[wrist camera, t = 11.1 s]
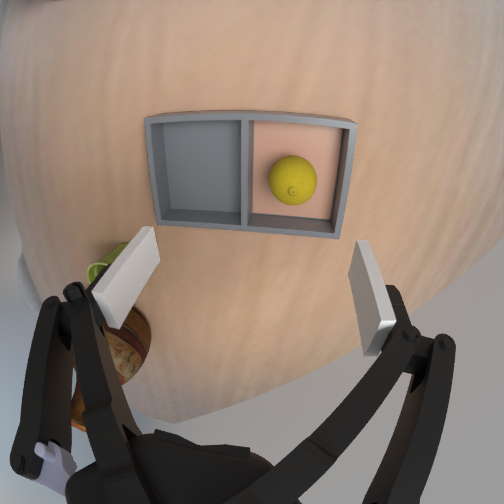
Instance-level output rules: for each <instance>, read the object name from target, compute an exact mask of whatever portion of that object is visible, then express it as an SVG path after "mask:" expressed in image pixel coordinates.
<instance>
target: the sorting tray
mask: <svg viewBox="0 0 504 504" xmlns="http://www.w3.org/2000/svg"><path fill="white" fill-rule="evenodd" d="M144 121H145V134H146V145H147V155H148V164H149V172H150V180H151V188H152V195H153V202H154V209H155V215H156V221H157V225H167V226H182V227H197V228H211V229H225V230H238V231H251V232H263V233H275V234H286V235H298V236H309V237H320V238H330V239H339V238H340V233H341V228H342V223H343V218H344V212H345V207H346V201H347V195H348V189H349V183H350V177H351V170H352V163H353V156H354V148H355V140H356V132H357V123H355V122H354V121H352V120H350V119H345V118H338V117H331V116H323V115H314V114H304V113H293V112H278V111H256V110H211V111H189V112H174V113H163V114H157V115H154V116H150V117H147V118H144ZM291 155H294V156H299V157H302V158H304V159H306V160H307V161H309V163H310V164H311V165H312V166H313V168H314V170H315V172H316V175H317V187H316V190H315V192H314V194H313V195H312V197H311V198H310V199H309V200H308V201H307V202H305V203H303V204H300V205H297V206H291V205H286V204H284V203H282V202H280V201H279V200H278V199H276V197H275V196H274V195H273V193H272V191H271V189H270V186H269V173H270V171H271V168H272V167H273V165H274V164H275V163H276V162H277V161H278V160H279V159H281V158H283V157H285V156H291Z"/></svg>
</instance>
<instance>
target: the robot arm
mask: <svg viewBox="0 0 504 504" xmlns="http://www.w3.org/2000/svg"><path fill="white" fill-rule="evenodd" d="M159 262H160V256H159V251H158V247H157V242H156V238H155V233H154V228H153V227H150V226H143V227H142V228H141V230H140V231H139V232H138V233H137V234H136V235H135V237H134V238H133V239H132V240H131V241H130V243H129V244H128V245H127V246H126V247H125V249H124V250H123V251H122V252H121V254H120V255H119V256H118V257H117V259H116V260H115V261H114V262H113V264H111V263H109V264H108V265H107V266H105V267H104V268H103V269H102V270H101V271H100V273H99V275H97V276H96V278H95V279H94V280H93V282H92V283H91V284H90V285H89V287H88V288H87V289H86V291H85V289H84V287H83V284H82V283H81V282H73V283H71V284H69V285H67V286H66V287H65V289H64V290H63V295H64V297H65V299H66V300H67V302H60V300H59V298H58V297H57V296H51V297H49V298H47V299H46V300H45V301H44V302H43V304H42V307H41V310H40V313H39V317H38V320H37V324H36V328H35V332H34V336H33V340H32V344H31V349H30V354H29V358H28V363H27V369H26V375H25V381H24V389H23V397H22V405H21V418H20V424H19V427H18V430H17V434H16V436H15V440H14V443H13V446H12V450H11V453H10V465H11V467H12V469H13V470H14V471H15V472H16V473H17V474H19V475H21V476H23V477H25V478H28V479H30V480H32V481H35V482H37V483H40V484H42V485H45V486H47V487H49V488H50V489H52V490H54V491H56V492H58V493H59V494H61V495H63V496H65V497H66V501H67V504H302V503H301V502H300V501H299V499H298V498H299V497H300V496H301V495H302V494H303V493H304V492H305V491H307V490H308V489H309V488H310V487H311V486H312V485H313V484H314V483H315V482H316V481H317V480H318V479H319V478H320V477H321V476H322V475H323V474H324V473H325V472H326V471H327V470H328V469H329V468H330V467H331V466H332V465H333V464H334V463H335V461H336V460H337V458H338V457H339V456H340V455H341V454H342V453H343V452H344V450H345V449H346V448H347V447H348V446H349V445H350V443H351V442H352V441H353V440H354V439H355V438H356V436H357V435H358V434H359V433H360V432H361V430H362V429H363V428H364V426H365V425H366V424H367V423H368V421H369V420H370V419H371V417H372V416H373V415H374V413H375V412H376V410H377V409H378V408H379V407H380V405H381V404H382V402H383V401H384V399H385V398H386V397H387V395H388V394H389V392H390V391H391V389H392V388H393V386H394V385H395V383H396V382H397V380H398V378H399V377H400V375H401V374H402V372H406V373H410V374H412V376H411V380H410V384H409V387H408V391H407V394H406V397H405V401H404V404H403V407H402V410H401V413H400V416H399V419H398V422H397V425H396V428H395V430H394V433H393V436H392V438H391V441H390V443H389V445H388V448H387V450H386V453H385V455H384V457H383V460H382V462H381V464H380V466H379V468H378V471H377V473H376V475H375V477H374V479H373V481H372V483H371V485H370V487H369V489H368V491H367V493H366V495H365V497H364V500H363V503H362V504H419V502H420V497H421V495H422V492H423V490H424V487H425V485H426V482H427V479H428V476H429V474H430V471H431V468H432V465H433V462H434V459H435V456H436V453H437V449H438V446H439V442H440V439H441V435H442V431H443V427H444V422H445V418H446V413H447V408H448V403H449V398H450V392H451V386H452V379H453V371H454V362H455V351H456V345H455V342H454V340H453V339H452V338H451V337H450V336H448V335H447V334H439V335H437V336H436V337H435V339H432V338H427V337H424V336H422V335H421V333H420V332H419V330H418V329H417V328H416V327H415V326H412V325H411V322H410V319H409V316H408V314H407V311H406V308H405V306H404V302H403V300H402V297H401V294H400V292H399V291H398V289H397V288H396V287H395V286H394V285H385V284H384V281H383V278H382V275H381V273H380V270H379V267H378V265H377V262H376V259H375V257H374V254H373V251H372V249H371V246H370V244H369V241H368V240H359V239H357V240H356V244H355V249H354V253H353V257H352V261H351V265H350V269H349V273H348V276H349V280H350V285H351V289H352V294H353V299H354V304H355V309H356V314H357V319H358V325H359V330H360V336H361V342H362V349H363V355H364V356H378V354H379V352H380V351H382V353H381V354H380V355H379V357H378V358H377V360H376V361H375V362H374V364H373V365H372V366H371V368H370V369H369V370H368V371H367V373H366V374H365V375H364V377H363V378H362V379H361V380H360V381H359V383H358V384H357V385H356V386H355V388H354V389H353V390H352V391H351V392H350V394H349V395H348V396H347V397H346V398H345V399H344V400H343V402H342V403H341V404H340V405H339V406H338V407H337V408H336V409H335V410H334V411H333V413H332V414H331V415H330V416H329V417H328V418H327V419H326V420H325V421H324V422H323V423H322V424H321V425H320V426H319V427H318V428H317V429H316V430H315V431H314V432H313V433H312V434H311V435H310V436H309V437H308V438H306V439H305V440H304V441H302V442H301V443H300V444H299V445H298V446H297V447H296V448H295V449H294V450H293V451H291V452H290V453H289V454H288V455H287V456H286V457H285V458H284V459H282V460H281V461H280V462H279V463H278V464H277V465H276V466H273V465H272V464H271V463H270V462H269V461H267V460H266V459H265V458H263V457H261V456H259V455H257V454H255V453H252V452H250V448H249V447H240V446H233V445H226V444H224V445H206V446H205V445H204V446H200V445H197V444H195V443H193V442H191V441H188V440H186V439H184V438H182V437H181V436H178V435H176V434H172V433H168V432H165V431H161V430H158V429H155V431H154V433H151V434H142V433H141V431H140V430H139V428H138V427H137V425H136V423H135V421H134V418H133V416H132V414H131V411H130V408H129V406H128V403H127V400H126V398H125V395H124V392H123V389H122V386H121V383H120V380H119V377H118V374H117V371H116V368H115V365H114V362H113V358H112V355H111V351H110V348H109V344H108V340H107V337H106V333H105V329H104V327H103V325H102V324H103V323H104V321H105V320H106V322H107V324H108V326H109V327H112V328H116V329H120V327H121V326H122V324H123V322H124V320H125V318H126V317H127V315H128V313H129V311H130V310H131V308H132V306H133V304H134V303H135V301H136V299H137V298H138V296H139V294H140V293H141V291H142V289H143V288H144V286H145V284H146V283H147V281H148V279H149V278H150V276H151V274H152V273H153V271H154V270H155V268H156V266H157V265H158V263H159ZM74 357H75V363H76V368H77V374H78V379H79V384H80V388H81V393H82V397H83V401H84V405H85V411H83V412H82V417H83V421H84V425H85V428H86V432H87V435H88V438H89V441H90V445H91V448H92V451H93V454H94V456H95V459H96V461H95V462H93V463H92V464H90V465H88V466H86V467H85V468H83V469H81V470H79V471H78V472H75V470H76V469H77V465H76V463H75V462H74V460H73V457H72V455H71V446H72V428H71V396H72V374H73V362H74Z"/></svg>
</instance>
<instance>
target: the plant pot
mask: <svg viewBox="0 0 504 504" xmlns="http://www.w3.org/2000/svg"><path fill="white" fill-rule="evenodd" d="M128 244H129V243H123V244H121V245H119V246H118V247H117V248H116V249H114V250H113V251H112V252H111V253H110V254H108V255H107V256H106V257H105V258H103V259H102V260H100V261H98V262H95V263H92V264H91V265H90V266H89V267H88V269H87V278H88V282H89V284H91V283H92V282H93V280H94V279H95V278H96V276H97V275H99V273H100V271H101V270H102V269H103V268H104V267H105V266H107V265H108V264H109V263H111V264H113V262H114V261H115V260H116V259H117V257H118V256H119V255H120V254H121V252H122V251H123V250H124V249H125V247H126V246H127V245H128Z"/></svg>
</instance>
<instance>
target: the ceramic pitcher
mask: <svg viewBox="0 0 504 504" xmlns="http://www.w3.org/2000/svg"><path fill="white" fill-rule="evenodd" d="M102 325H103V327H104V329H105V333H106V337H107V340H108V344H109V348H110V351H111V355H112V358H113V362H114V365H115V368H116V371H117V374H118V377H119V380H120V383H121V385H123V384H125V383H126V382H128V381H129V380H130V379H131V378H132V377H133V376H134V375H135V374H136V373H137V372H138V370H139V369H140V367H141V366H142V364H143V363H144V361H145V359H146V356H147V354H148V351H149V347H150V342H151V332H150V329H149V326H148V324H147V323H146V321H145V320H144V319H143V318H142V317H141V316H140V315H139V314H138V313H137V312H135V311H134V310H132V309H131V310H130V311H129V313H128V315H127V317H126V318H125V320H124V322H123V324H122V326H121V327H120V329H116V328H112V327H109V326H108V324H107V322H106V320H105V321H104V323H103V324H102ZM73 368H74V369H75V371H76V376H77V378H76V379H77V382H76V387H75V392H74V395H73V398H72V400H71V426H73V427H76V428H78V429H80V430H81V431H84V432H86V428H85V425H84V421H83V417H82V412H83V411H85V405H84V401H83V397H82V393H81V388H80V384H79V379H78V374H77V368H76V363H75V357H74V362H73Z"/></svg>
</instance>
